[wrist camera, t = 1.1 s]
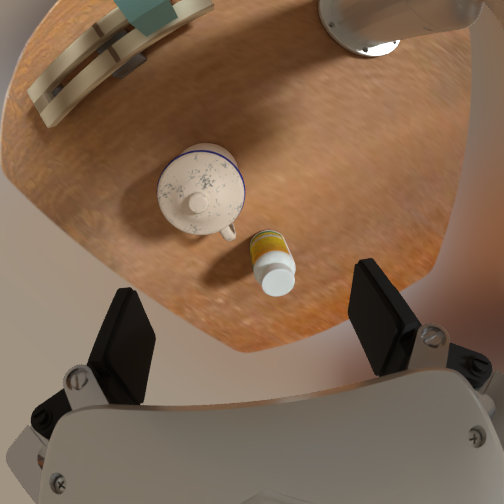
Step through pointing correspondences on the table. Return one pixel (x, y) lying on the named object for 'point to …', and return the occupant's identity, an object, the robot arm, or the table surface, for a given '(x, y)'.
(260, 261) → the supplement bottle
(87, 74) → the beam
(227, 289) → the table surface
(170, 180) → the teacup with lid
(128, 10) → the block
